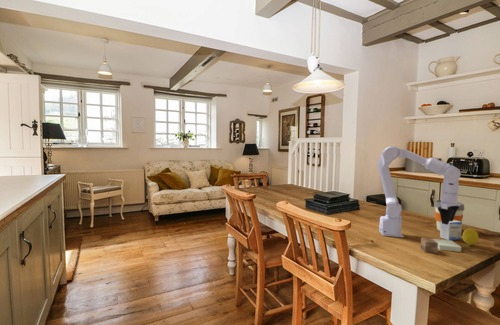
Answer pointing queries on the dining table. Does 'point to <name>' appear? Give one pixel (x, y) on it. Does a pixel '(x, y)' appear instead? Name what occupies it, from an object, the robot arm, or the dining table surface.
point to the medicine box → (451, 230)
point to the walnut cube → (429, 245)
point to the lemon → (470, 236)
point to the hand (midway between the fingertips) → (447, 222)
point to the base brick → (447, 245)
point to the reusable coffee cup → (457, 216)
